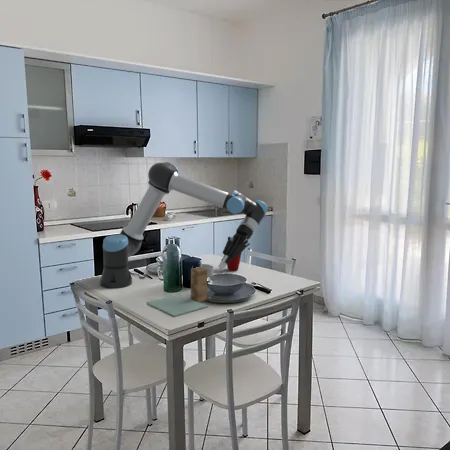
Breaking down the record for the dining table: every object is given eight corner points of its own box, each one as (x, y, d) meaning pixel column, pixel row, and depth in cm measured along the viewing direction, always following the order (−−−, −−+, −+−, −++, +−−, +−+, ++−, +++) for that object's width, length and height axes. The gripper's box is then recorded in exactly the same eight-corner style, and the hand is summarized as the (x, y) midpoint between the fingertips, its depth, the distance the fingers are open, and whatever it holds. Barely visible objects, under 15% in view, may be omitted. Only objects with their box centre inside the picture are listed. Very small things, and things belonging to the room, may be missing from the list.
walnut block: (190, 299, 186) (191, 268, 184) (199, 296, 189) (199, 266, 187) (197, 302, 182) (198, 270, 180) (206, 299, 186) (207, 268, 183)
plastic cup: (220, 267, 240) (220, 247, 239) (238, 266, 244) (238, 246, 242) (226, 272, 230) (226, 251, 228) (244, 271, 233) (245, 250, 232)
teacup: (202, 277, 221) (202, 262, 220) (218, 281, 214) (218, 265, 213) (183, 282, 210) (183, 267, 209) (199, 287, 203) (199, 271, 202)
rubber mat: (146, 303, 179) (146, 302, 179) (178, 295, 190) (178, 294, 190) (174, 317, 165) (174, 315, 164) (207, 307, 176) (207, 305, 176)
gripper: (260, 235, 198) (234, 275, 189) (240, 231, 207) (215, 270, 198) (253, 225, 194) (226, 266, 185) (233, 221, 203) (206, 260, 194)
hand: (220, 268), depth 192 cm, fingers closed
